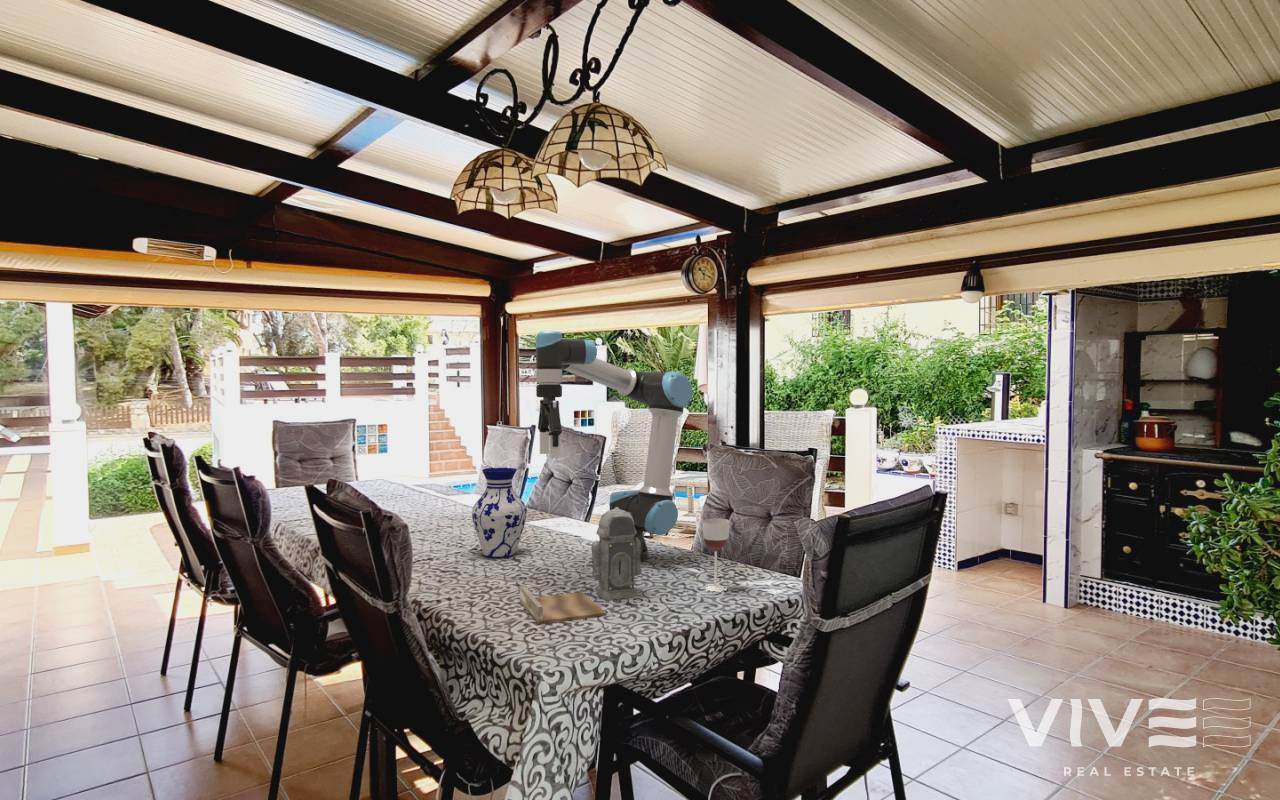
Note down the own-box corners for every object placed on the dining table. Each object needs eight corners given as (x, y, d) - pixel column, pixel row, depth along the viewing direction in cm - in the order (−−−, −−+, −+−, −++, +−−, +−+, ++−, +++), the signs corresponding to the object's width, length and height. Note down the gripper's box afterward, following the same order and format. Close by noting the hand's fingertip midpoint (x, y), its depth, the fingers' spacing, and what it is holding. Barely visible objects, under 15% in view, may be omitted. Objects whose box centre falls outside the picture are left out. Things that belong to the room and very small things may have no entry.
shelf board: (582, 594, 205) (582, 579, 205) (606, 615, 187) (606, 599, 187) (519, 602, 198) (519, 586, 198) (537, 624, 180) (537, 607, 180)
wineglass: (732, 586, 214) (732, 519, 214) (725, 594, 206) (726, 524, 206) (705, 583, 217) (706, 517, 216) (698, 591, 209) (698, 522, 208)
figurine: (645, 596, 204) (645, 508, 204) (598, 601, 199) (598, 511, 198) (631, 587, 213) (632, 502, 213) (586, 592, 207) (586, 505, 207)
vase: (480, 563, 240) (479, 474, 240) (465, 552, 257) (465, 468, 257) (534, 557, 249) (534, 471, 249) (517, 546, 266) (517, 465, 265)
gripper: (528, 383, 223) (528, 452, 223) (545, 383, 199) (546, 460, 200) (551, 383, 225) (552, 451, 226) (572, 383, 202) (572, 459, 202)
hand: (549, 456), depth 213 cm, fingers open, 13 cm apart
